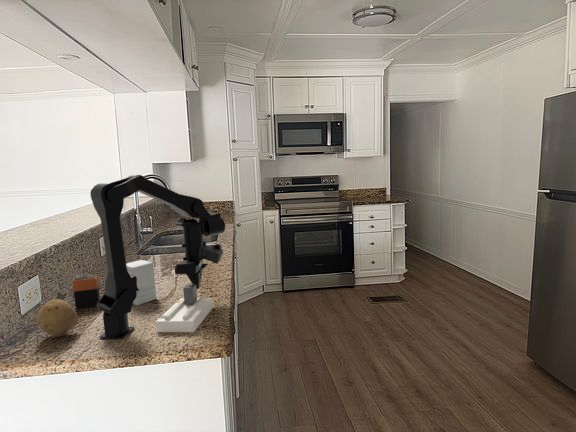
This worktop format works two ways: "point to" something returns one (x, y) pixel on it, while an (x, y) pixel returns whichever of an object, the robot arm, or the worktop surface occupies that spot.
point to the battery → (86, 291)
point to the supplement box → (143, 280)
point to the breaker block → (184, 316)
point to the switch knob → (190, 294)
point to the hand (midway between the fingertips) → (197, 288)
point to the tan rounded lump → (57, 317)
